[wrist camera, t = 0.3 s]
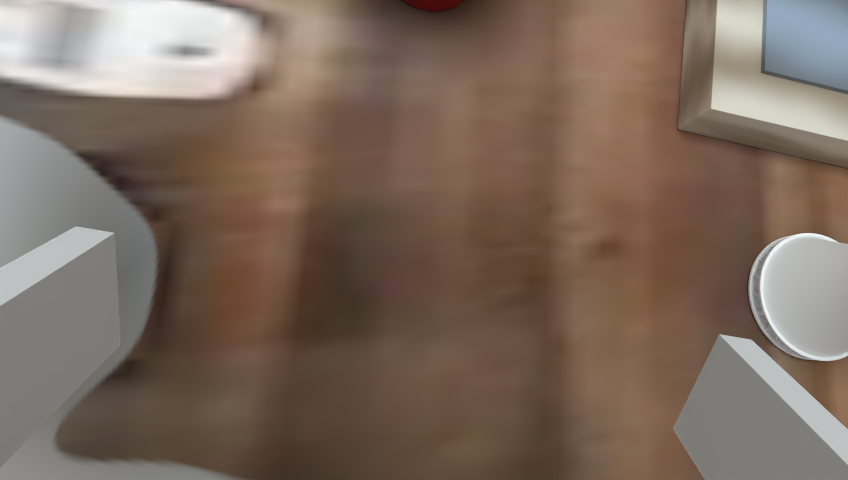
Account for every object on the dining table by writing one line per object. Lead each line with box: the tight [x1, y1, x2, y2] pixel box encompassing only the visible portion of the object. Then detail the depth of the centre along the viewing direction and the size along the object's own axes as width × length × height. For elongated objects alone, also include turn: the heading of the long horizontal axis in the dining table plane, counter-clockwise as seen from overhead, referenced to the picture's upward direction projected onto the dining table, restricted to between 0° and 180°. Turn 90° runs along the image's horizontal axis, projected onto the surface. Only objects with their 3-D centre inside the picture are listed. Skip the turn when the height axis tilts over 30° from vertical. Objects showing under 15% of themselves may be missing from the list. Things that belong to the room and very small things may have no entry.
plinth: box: [678, 0, 848, 168], centre depth 32 cm, size 18×18×3 cm
